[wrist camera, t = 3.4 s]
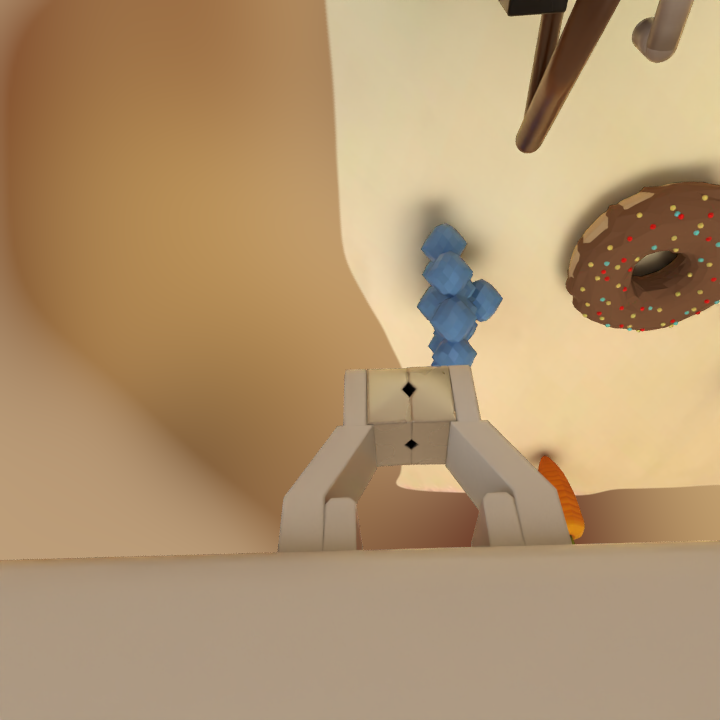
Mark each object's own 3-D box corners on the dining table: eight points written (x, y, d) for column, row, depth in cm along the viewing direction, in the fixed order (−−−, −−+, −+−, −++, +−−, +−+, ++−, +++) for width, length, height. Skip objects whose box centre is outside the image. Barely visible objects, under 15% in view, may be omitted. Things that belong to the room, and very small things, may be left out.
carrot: (552, 466, 72) (583, 576, 62) (519, 463, 71) (545, 574, 61) (570, 448, 68) (606, 562, 58) (535, 444, 67) (565, 559, 57)
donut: (644, 320, 50) (664, 358, 47) (530, 277, 46) (543, 316, 43) (784, 200, 41) (821, 238, 37) (653, 133, 36) (683, 168, 33)
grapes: (486, 302, 49) (511, 404, 41) (415, 309, 49) (425, 411, 41) (494, 192, 40) (528, 295, 32) (407, 202, 41) (419, 305, 33)
